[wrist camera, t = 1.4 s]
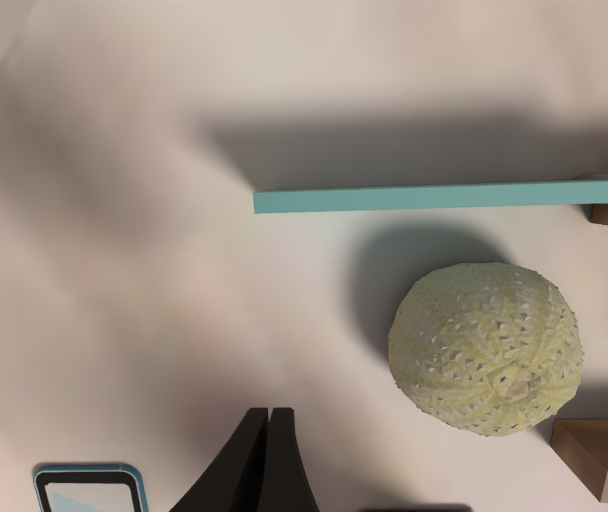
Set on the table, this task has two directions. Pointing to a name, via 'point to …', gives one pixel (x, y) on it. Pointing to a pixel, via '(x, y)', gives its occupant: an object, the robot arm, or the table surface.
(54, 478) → the smartphone
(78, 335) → the table surface
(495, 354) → the sea urchin shell
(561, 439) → the bay
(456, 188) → the teal plank
